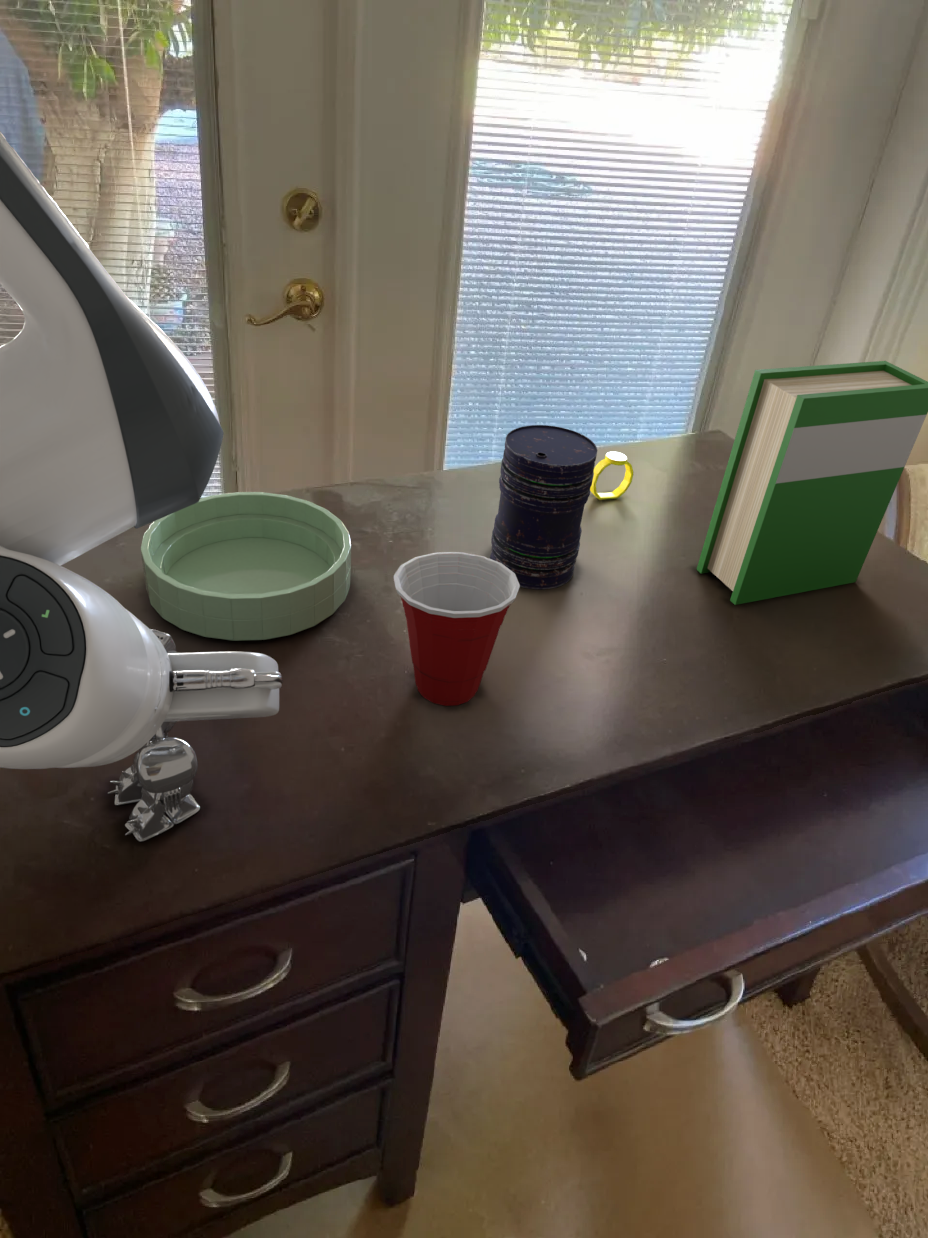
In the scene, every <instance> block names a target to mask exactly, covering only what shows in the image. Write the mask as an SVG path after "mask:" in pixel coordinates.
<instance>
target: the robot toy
mask: <svg viewBox="0 0 928 1238" xmlns="http://www.w3.org/2000/svg"><path fill="white" fill-rule="evenodd" d="M150 630H151V631H152V632H153V633H154V634H155V635H156V636H157V637H158V639H159V640H160V642H161V643H162V645H163V646H164V648H165V650H166V652H167V653H180V652H178V651H177V648H176V643H175V641H174V639H173V637H172V636H171V634H169V633H167V632H163V631H160V630H156V629H154V628H153V629H150ZM177 722H178V721H171V722H163V723H162V725H161V727H160V728H159V729H158V731H157V732H156V734H155V735H154V736H153V737H152V738H151V739H150V740H149V741H148V742H147V743H146V744H145V745H144V746H143V747H141V748H140V749H139V750H138V751H137V753H135V754H134V756H133V760H132V764H131V765H130V766H128V767H127V768H126V769H125V770H121V774H120V776H119V778H118V780H110V781H109V782H110V783H111V784H113V785H114V786H115V789H113V790H111V791H108V792H107V795H108V794H109V795H110V794H112V795H113V794H114V795H115V796H114V805H115V806H122V805H128V804H133V803H136V804H135V805H134V807H133V809H132V810H131V813H130V815H129V818H128V821H126V823H125V824H124V827H125V828H126V829H127V830H128V831H127V832H126V833H125V834H124V836H128V835H131V834H132V835H133V836H134V837H135V839H136V840H137V841H138V842H140V843H141V842H142V843H143V842H146V841H148V840H150V839H152V838H154V837H157V836H158V835H160V834H162V833H164V832H166V831H168V830H170V829H171V828H173V827H174V826H175V825H177V824H180V823H182V822H183V821H185V820H187V819H189V818H191V817H192V816H193V815H195V814H197V813H199V811H200V810H201V806H200V804H199V803H198V802H197V801H196V800H195V798H194V797H193V795H192V794H191V792H192V790H193V788H194V778H195V777H196V775H197V774H198V773H197V771H198V765H199V763H198V756H197V753H196V751H195V749H194V748H193V746H192V745H191V744H190V743H189V742H188V741H187V740H186V739H183V738H180V737H176V736H175V737H174V736H173V737H172V736H171V737H169V733H170V732H171V730H172V729H173V728H174V727H175V725H176V724H177ZM166 815H167V816H166Z"/></svg>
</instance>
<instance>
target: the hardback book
mask: <svg viewBox="0 0 928 1238" xmlns="http://www.w3.org/2000/svg"><path fill="white" fill-rule="evenodd" d="M751 379H752V380H751V383H750V386H749V389H748V393H747V396H746V401H745V403H744V407H743V409H742V413H741V416H740V420H739V424H738V428H737V431H736V433H735V437H734V441H733V444H732V447H731V451H730V455H729V458H728V462H727V464H726V467H725V471H724V475H723V478H722V482H721V485H720V487H719V492H718V495H717V498H716V502H715V504H714V505H715V506H714V509H713V512H712V515H711V518H710V522H709V526H708V529H707V533H706V536H705V539H704V544H703V546H702V549H701V551H700V552H701V553H700V556H699V560H698V563H697V566H696V571H697V572H698V573H699V574H707V573H712V575H714V576H716V578H717V579H719V580H720V581H721V582H722V583H723V584H724V585H725V586H726V587H727V588H728V589H729V590H730V591H732V593H731V596H730V599H729V601H730V602H731V603H732V604H734V606H737V605H743V604H747V603H748V604H749V603H752V602H757V601H758V602H759V601H764V600H769V599H773V598H779V597H783V596H784V597H785V596H789V595H794V594H795V595H796V594H799V593H805V592H811V591H817V590H822V589H826V588H832V587H836V586H837V587H838V586H842V585H848V584H853V583H856V582H857V580H858V578H859V575H860V573H861V572H862V568H863V566H864V564H865V561H866V560H867V557H868V554H869V552H870V549H871V547H872V545H873V543H874V539H875V538H876V536H877V534H878V531H879V529H880V526H881V524H882V521H883V519H884V517H885V515H886V512H887V509H888V507H889V505H890V503H891V500H892V498H893V495H894V493H895V490H896V488H897V486H898V483H899V481H900V479H901V477H902V474H903V471H904V469H905V467H906V464H907V462H908V460H909V457H910V456H911V453H912V451H913V449H914V446H915V444H916V441H917V439H918V436H919V435H920V432H921V430H922V427H923V424H924V422H925V420H926V417H927V415H928V380H925V379H924V378H922V377H920V376H917V375H915V374H913V373H912V372H909V371H907V370H906V369H903V368H901V367H899V366H897V365H896V364H893V363H891V362H889V361H887V360H877V361H862V362H850V363H849V362H848V363H834V364H821V365H806V366H805V365H804V366H789V367H778V368H777V367H775V368H764V369H755V370H754V373H753V376H752V378H751Z"/></svg>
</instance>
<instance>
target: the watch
mask: <svg viewBox="0 0 928 1238" xmlns="http://www.w3.org/2000/svg"><path fill="white" fill-rule="evenodd" d="M611 465H613V466H624V467H625V472H624V477H623V479H622V481H621V482H620V484H619V486H617V488H615V489H613V491H610V492H598V489H597V482H598V480H599V477H600V475H601V474H602V473H603V472H604V470H605V469H606V468H608V467H609V466H611ZM634 473H635V472H634V469H633V465H632V463H630V461H628V457H627V455H625V454H624V453H622V452H619V451H608V452H606V454H605V456H604V458H603V459H601V460H599V461H598V463H597V464H595V466H594V476H593V481H592V486H591V487H590V493H591V494H592V495H593V496H594V497H595V498H596V499H597V500H599V501H602V500H613V499H614V500H615V499H619V498H620V497H622V496H623V495H624V494H625V493H627V491H628V489H629V488H630V486H631V485H632V483H633V478H634Z"/></svg>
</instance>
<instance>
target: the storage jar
mask: <svg viewBox="0 0 928 1238" xmlns="http://www.w3.org/2000/svg"><path fill="white" fill-rule="evenodd" d="M597 456H598V447H597V445H596V443H595V442H593V440H592V439H590V438H589V437H587V436H586V435H584V434H582V433H580V432H577V431H575V430H573V429H569V428H566V427H561V426H555V425H549V424H548V425H547V424H532V425H531V424H530V425H524V426H519V427H516V428H514V429H512V430H510V431H509V432H508V433H507V434H506V436H505V440H504V450H503V454H502V459H501V463H500V476H499V479H498V483H499V484H498V485H499V487H498V489H499V491H500V495H499V501H498V510H497V514H496V515H495V517H494V523H493V528H492V532H491V539H490V541H491V542H490V543H491V544H490V545H491V547H490V548H491V549H490V555H489V559H492V560H494V561H497V562H500V563H502V564H503V565H504V566H506V567H507V568H508V569H510V570H511V571H512V572H513V573H515V575H516V577H517V580H518V582H519V584H520V587H519V588H525V589H530V590H551V589H556V588H559V587H561V586H563V585H566V584H567V583H569V581H570V580H571V579H572V578H573V576H574V572H575V564H576V563H577V562H576V561H577V558H578V556H579V552H580V546H581V538H582V531H583V530H582V520H583V515H584V510H585V506H586V504H587V503H588V501H589V497H590V496H591V491H590V487H591V486H592V481H593V476H594V467H595V466H596V463H595V462H596V460H597Z"/></svg>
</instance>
